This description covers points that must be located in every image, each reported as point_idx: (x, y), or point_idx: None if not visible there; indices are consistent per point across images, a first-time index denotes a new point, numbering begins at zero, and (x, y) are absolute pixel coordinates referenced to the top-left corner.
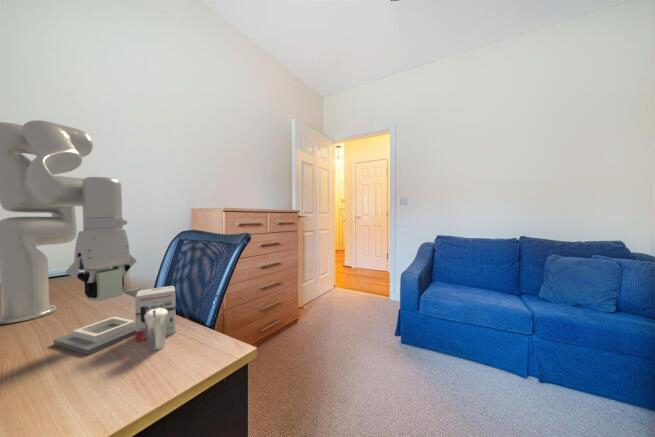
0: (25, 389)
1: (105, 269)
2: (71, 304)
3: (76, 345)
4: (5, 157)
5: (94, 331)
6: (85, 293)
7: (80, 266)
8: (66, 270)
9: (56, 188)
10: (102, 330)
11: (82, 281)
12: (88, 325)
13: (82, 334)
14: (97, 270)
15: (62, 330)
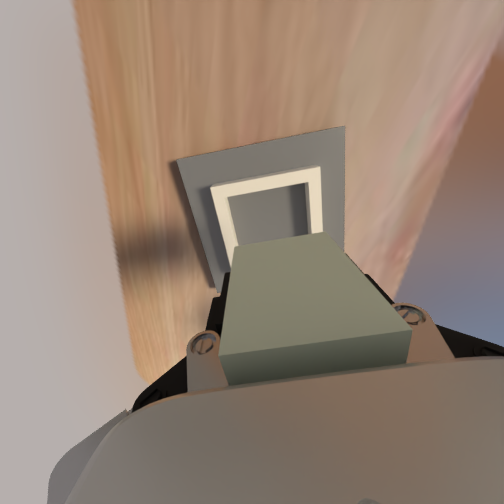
0: (143, 316)
1: (349, 361)
2: None
3: (207, 251)
4: None
5: (254, 198)
6: (214, 302)
7: (148, 426)
8: (49, 485)
9: None
10: (267, 210)
11: (193, 340)
12: (246, 182)
13: (221, 231)
14: (296, 351)
15: (211, 21)
